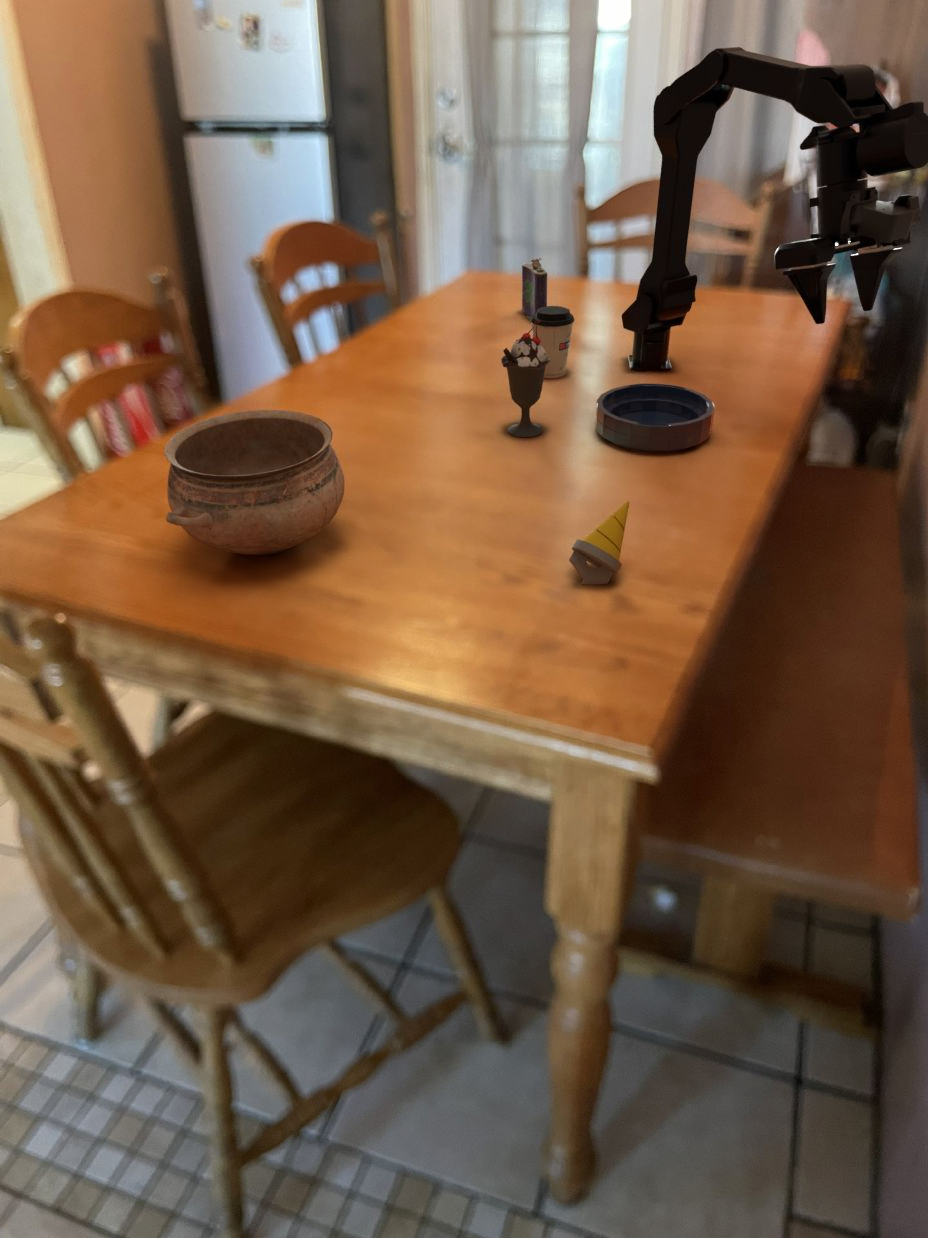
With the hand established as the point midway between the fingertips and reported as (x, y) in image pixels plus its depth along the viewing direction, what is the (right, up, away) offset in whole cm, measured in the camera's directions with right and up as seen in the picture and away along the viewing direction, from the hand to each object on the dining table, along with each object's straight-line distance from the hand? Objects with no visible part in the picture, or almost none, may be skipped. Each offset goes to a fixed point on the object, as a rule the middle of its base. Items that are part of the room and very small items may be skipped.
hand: (844, 316), depth 116 cm
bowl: (-22, -13, +10) cm, 28 cm away
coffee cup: (-34, +1, +31) cm, 46 cm away
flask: (-35, +18, +57) cm, 69 cm away
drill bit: (-34, -33, -20) cm, 52 cm away
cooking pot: (-71, -30, -13) cm, 78 cm away
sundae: (-40, -12, +12) cm, 43 cm away
